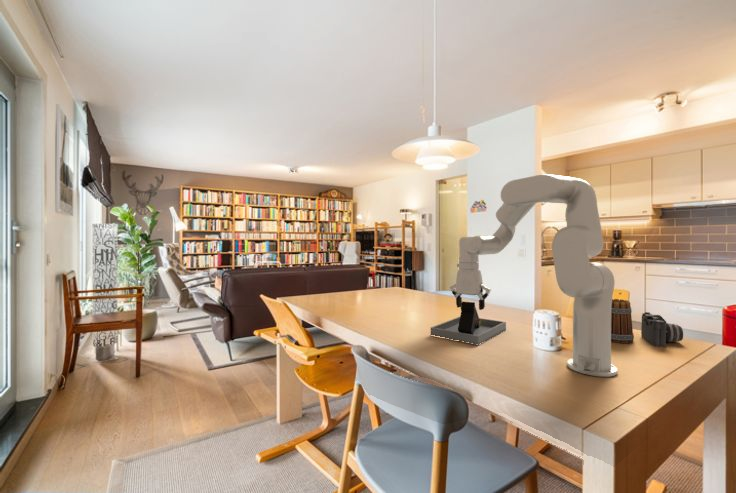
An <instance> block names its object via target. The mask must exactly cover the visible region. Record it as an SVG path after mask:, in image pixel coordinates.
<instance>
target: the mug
mask: <svg viewBox="0 0 736 493" xmlns="http://www.w3.org/2000/svg"><path fill="white" fill-rule="evenodd" d="M632 312H633V311H632V307H631V302H630V301H629V300H625V299H618V298H612V306H611V343H616V344H617V343H618V344H632V343H633V342H634V338H635V336H634V331H633V321H632Z"/></svg>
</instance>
